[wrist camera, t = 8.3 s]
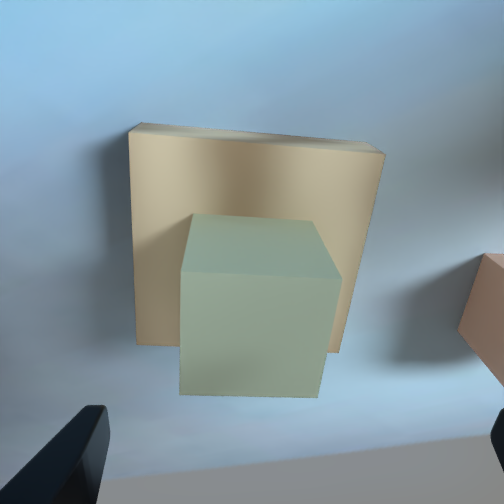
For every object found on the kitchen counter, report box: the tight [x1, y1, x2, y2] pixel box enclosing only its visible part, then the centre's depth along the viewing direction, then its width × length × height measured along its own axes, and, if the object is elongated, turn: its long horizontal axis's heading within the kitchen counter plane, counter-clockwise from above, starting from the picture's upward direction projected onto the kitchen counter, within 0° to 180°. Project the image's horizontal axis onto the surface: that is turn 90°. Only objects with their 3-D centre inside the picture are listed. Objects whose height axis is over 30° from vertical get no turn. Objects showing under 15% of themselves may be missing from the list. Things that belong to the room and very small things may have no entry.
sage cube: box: [179, 213, 342, 398], centre depth 16 cm, size 5×5×5 cm
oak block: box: [128, 122, 386, 353], centre depth 19 cm, size 10×10×3 cm
